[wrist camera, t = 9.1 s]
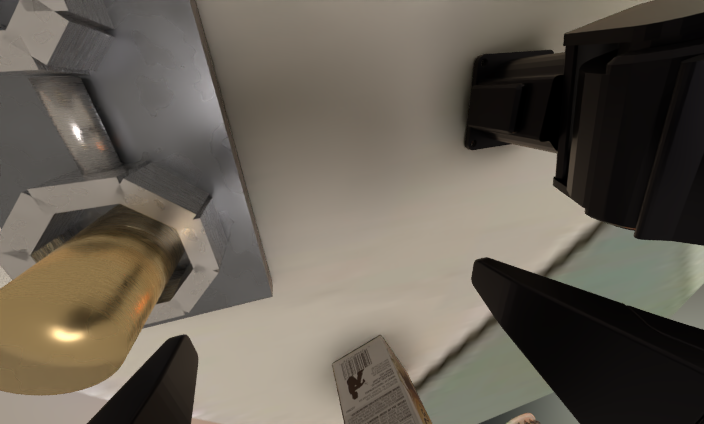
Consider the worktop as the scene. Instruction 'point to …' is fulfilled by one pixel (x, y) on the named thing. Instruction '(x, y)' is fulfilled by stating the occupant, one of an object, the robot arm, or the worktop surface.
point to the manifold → (123, 142)
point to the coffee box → (377, 388)
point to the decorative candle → (524, 419)
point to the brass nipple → (84, 304)
